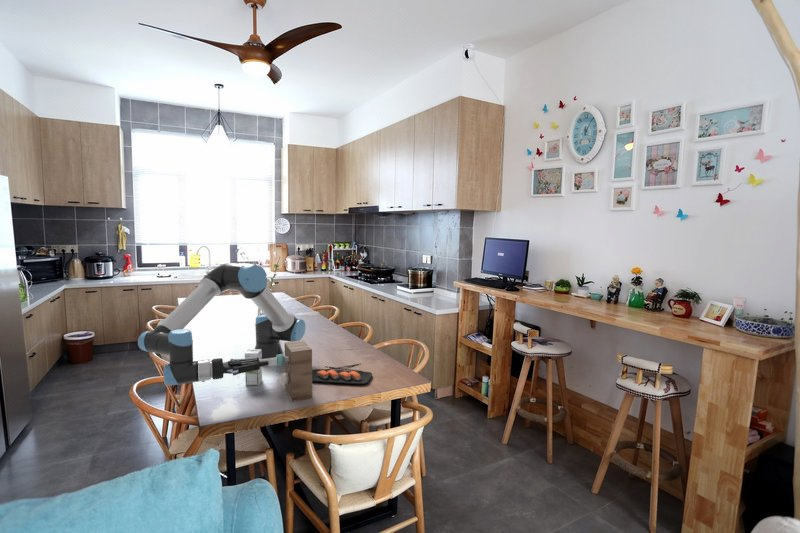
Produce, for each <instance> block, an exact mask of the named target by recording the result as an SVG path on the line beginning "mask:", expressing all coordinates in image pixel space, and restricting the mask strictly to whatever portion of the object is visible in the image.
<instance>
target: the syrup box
mask: <svg viewBox="0 0 800 533" xmlns="http://www.w3.org/2000/svg"><path fill="white" fill-rule="evenodd" d="M257 357H259V359H262V350H261V349H255V348H254V349H253V348H252V349H247V350H246V351H245V352H244V359H248V358H256V359H257ZM244 375H245V376H244V377H245V386H260V384H261V383H262V382H263V367H260V370H254V371H249V372H245V373H244Z"/></svg>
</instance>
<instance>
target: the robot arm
mask: <svg viewBox="0 0 800 533" xmlns="http://www.w3.org/2000/svg"><path fill="white" fill-rule="evenodd" d="M267 276H268V275H267V272H266V270H265V269H264V268H263V267H262V266H261V265H259V264H254V263H237V262H227V263H223V264H221V265H219V266H217V267H215V268H213V269H212V270H211V271H209V272H208V273H206V275H204V276H203V278H202V279H200V283H199V285H198V286H196V288H195V289H194V290H193V291H192V292H190V293H189V295H188V296H186V297H185V299H184V300H182V301H181V302H180V303H179V305H177V306H176V307H175V308H174V310H172V311H171V313H169V314H168V315H167V316H166V317H165V318H164V319H163V320H162V321H161V322H160V323H159V324H158V325H157V326H156V327H155V328H154V329H153V330H147V331H144V332H142V333H140V335H139V337H138V338H137V346H138V348H139V349H140V350H141V351H145V352H147V353H154V354H159V355H160V354H161V355H165V356H169V358H168V359H169V363H168V364H165V365H163V382H164V385H166V386H177V385H178V386H179V385H184V384H185V385H186V384H191V383H197V382H198V383H199V382H202V383H205V381H210V380H211V379H212V380H221V379H223V378H224V374H230V375H232V376H237V375H240V374H243V373H244V374H245V372H249V371H254V370H260V367H262V368H264V367H273V366H277V358H276V355H278V354H283V355H284V351H283V348H282V345H281V342H280V341H284V342H293V341H302V339H303V337H304V336H305V333H306V326H307V325H306V323H305V320H304V319H303V318H297V317H296V316H295V314H293V313H292V311H287V310H286V308H284V306H283V305H282V303H281V302H280V301H279V300H278V299H277V298H276V296H275V295H274V294H273V293H272V291H271V290H270V289H269V288H268V278H267ZM227 290H229V291H230V290H231V291H238V292H239V293H240V294H241V295H242V296H243V298H245V299H248V300H251V301H252V302H253V303H254V304H255V306H256V307H257V308H258V309H259V310H260V311H261V312H262V313H263V314H259V315H257V316H256V317H255V323H254V327H255V346H254V349H261V350H262V359H259V357H257V359H256V358H248V359H245V358H231V359H230V360H228V361H224V360H223V358H219V357H218V358H213V359H201V360H194V353H193V352H194V347H193V346H194V345H193V344H194V340H193V333H192V331H191V329H186V327H187V326H188V324H189V323H191V321H192V320H194V318H195V317H196V316H197V315H198V314H199V313H200V312H201V311H202V310H203V309H204V308H205V307H206V306H207V305H208V303H210V302H211V301H212V300H213V298H215V297H218V296H219V295H221V294H222V293H223V292H224V291H227Z"/></svg>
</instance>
